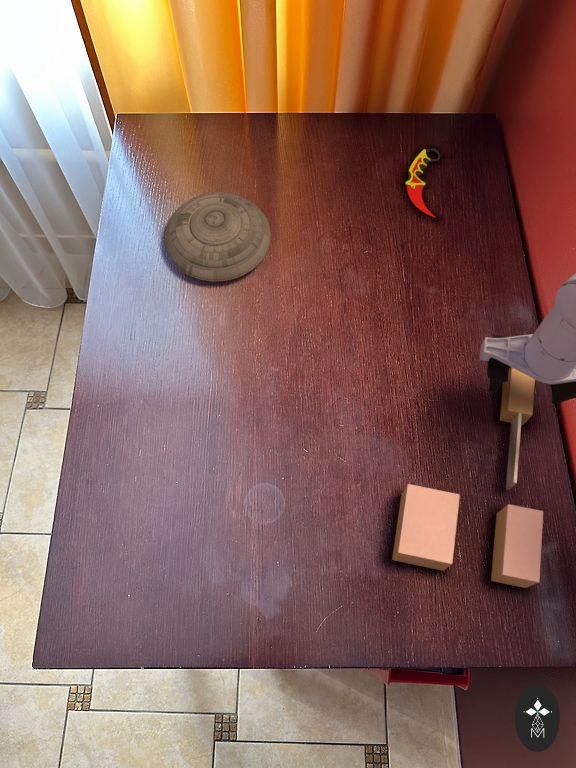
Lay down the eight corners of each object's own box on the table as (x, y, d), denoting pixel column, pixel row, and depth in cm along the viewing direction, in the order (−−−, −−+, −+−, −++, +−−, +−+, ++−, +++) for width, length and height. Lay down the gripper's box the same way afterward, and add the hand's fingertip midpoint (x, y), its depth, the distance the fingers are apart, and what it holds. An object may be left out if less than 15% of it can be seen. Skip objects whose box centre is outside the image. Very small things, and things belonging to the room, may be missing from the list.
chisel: (503, 378, 89) (511, 366, 86) (526, 382, 89) (535, 371, 86) (493, 488, 83) (502, 480, 80) (518, 493, 83) (528, 485, 80)
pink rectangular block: (451, 504, 82) (460, 494, 78) (443, 570, 79) (452, 564, 75) (401, 494, 83) (407, 483, 79) (391, 560, 79) (398, 552, 75)
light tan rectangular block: (530, 520, 82) (543, 511, 77) (525, 588, 78) (539, 582, 74) (496, 513, 82) (508, 503, 78) (490, 580, 79) (502, 574, 74)
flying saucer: (143, 253, 97) (136, 229, 92) (207, 184, 102) (203, 157, 97) (230, 305, 93) (227, 283, 88) (291, 230, 99) (292, 205, 94)
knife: (437, 217, 99) (403, 212, 99) (436, 218, 100) (402, 213, 100) (441, 148, 104) (409, 143, 105) (440, 150, 105) (408, 145, 105)
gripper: (635, 317, 73) (584, 372, 85) (498, 293, 74) (467, 351, 87) (635, 376, 70) (582, 424, 83) (493, 350, 71) (462, 401, 84)
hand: (523, 390), depth 84 cm, fingers open, 7 cm apart
